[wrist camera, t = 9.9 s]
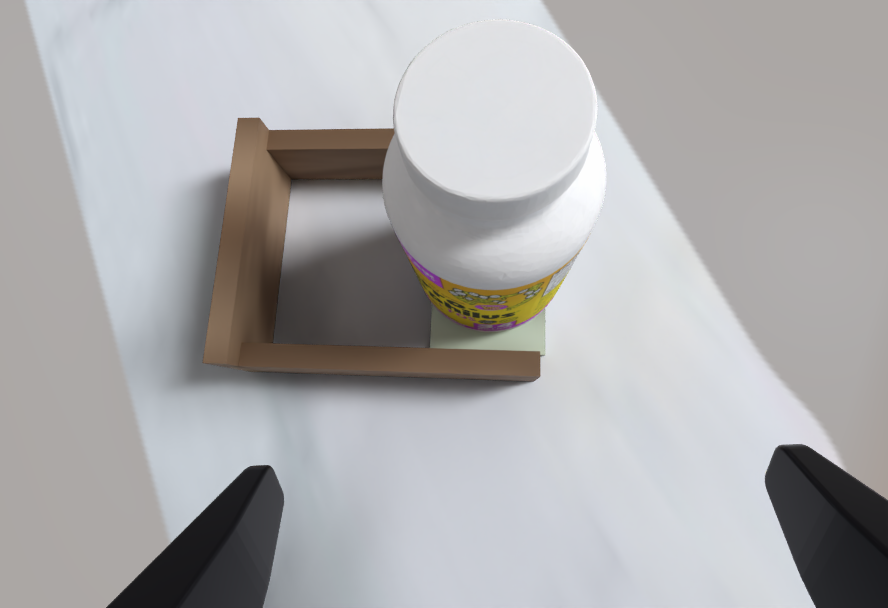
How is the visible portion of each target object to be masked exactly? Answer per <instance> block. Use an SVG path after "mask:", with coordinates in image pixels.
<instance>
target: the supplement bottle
mask: <svg viewBox="0 0 888 608" xmlns="http://www.w3.org/2000/svg"><path fill="white" fill-rule="evenodd" d="M596 120H597V96H596V91H595V87H594V84H593V81H592V78H591V75H590V73H589V71H588V69H587V68H586V66H585V64H584V62H583V60H582V59H581V58H580V57H579V55H578V54H577V53H576V52H575V51H574V50H573V49H572V48H571V47H570V46H569V45H568V44H567V43H566V42H565V41H563V40H562V39H560V38H559V37H557V36H556V35H554V34H553V33H551V32H549V31H547V30H545V29H543V28H540V27H538V26H535V25H532V24H528V23H525V22H520V21H513V20H503V19H495V20H484V21H477V22H473V23H469V24H466V25H463V26H460V27H457V28H454V29H451V30H449V31H447V32H446V33H444V34H442V35H441V36H439V37H437V38H436V39H434V40H433V41H432V42H431V43H429V44H428V45H427V46H425V47H424V48H423V49H422V50H421V51H420V53H419V54H418V55H417V56H416V57H415V58H414V59H413V60H412V62H411V63H410V64H409V66H408V68H407V69H406V71H405V73H404V74H403V77H402V79H401V81H400V83H399V86H398V89H397V92H396V96H395V101H394V109H393V124H394V132H395V133H394V136H393V138H392V140H391V142H390V145H389V148H388V150H387V153H386V157H385V162H384V167H383V180H382V188H383V199H384V204H385V208H386V212H387V215H388V218H389V220H390V222H391V225H392V227H393V229H394V231H395V234H396V236H397V237H398V239H399V241H400V243H401V245H402V247H403V249H404V251H405V253H406V255H407V257H408V259H409V261H410V263H411V265H412V267H413V269H414V271H415V273H416V275H417V277H418V279H419V282H420V283H421V285H422V287H423V289H424V291H425V293H426V295H427V297H428V298H429V300H430V301H431V303H432V304H433V305H434V307H435V308H436V309H437V310H438V311H439V312H440V313H441V314H442V315H443V316H444V317H446V318H447V319H448V320H450V321H452V322H453V323H455V324H457V325H459V326H461V327H464V328H466V329H470V330H473V331H479V332H502V331H506V330H511V329H514V328H516V327H519V326H521V325H524V324H525V323H527V322H529V321H530V320H532V319H533V318H535V317H536V316H537V315H538V314H539V313H541V312H542V311H543V310H544V309H545V307H546V306H547V305H548V304H549V303H550V301H551V300H552V299H553V297H554V295H555V294H556V292H557V291H558V289H559V287H560V286H561V284H562V282H563V281H564V279H565V277H566V275H567V274H568V272H569V270H570V269H571V267H572V265H573V263H574V261H575V259H576V258H577V256H578V254H579V252H580V251H581V249H582V248H583V246H584V244H585V243H586V241H587V239H588V237H589V235H590V234H591V232H592V230H593V228H594V226H595V224H596V222H597V219H598V217H599V215H600V212H601V209H602V206H603V202H604V197H605V192H606V164H605V159H604V155H603V150H602V147H601V144H600V142H599V139H598V136H597V134H596V132H595V127H596Z"/></svg>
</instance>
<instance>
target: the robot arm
mask: <svg viewBox="0 0 888 608" xmlns="http://www.w3.org/2000/svg"><path fill="white" fill-rule="evenodd" d="M765 485H766V489H767V492H768V495H769V497H770V500H771V502H772V505H773V507H774V510H775V513H776V515H777V518H778V520H779V523H780V525H781V528H782V531H783V533H784V536H785V538H786V541H787V544H788V546H789V549H790V551H791V554H792V556H793V559H794V562H795V564H796V566H797V569H798V571H799V574H800V576H801V578H802V580H803V582H804V584H805V587H806V589H807V591H808V593H809V595H810V597H811V599H812V601H813V603H814V605H815V607H816V608H888V500H887V499H885V498H884V497H882V496H881V495H879V494H878V493H876V492H875V491H874V490H872V489H871V488H869V487H868V486H866V485H865V484H863V483H862V482H860V481H859V480H857V479H856V478H854V477H853V476H851V475H850V474H848V473H847V472H845V471H844V470H843V469H841V468H840V467H838V466H837V465H835V464H834V463H832V462H831V461H829V460H828V459H826V458H825V457H823V456H822V455H820V454H819V453H817V452H816V451H814V450H813V449H811V448H810V447H808V446H806V445H802V444H790V445H779V446H778V447H777V448H776V449H775V451H774V453H773V456H772V458H771V461H770V464H769V466H768V469H767V472H766V475H765ZM283 506H284V494H283V491H282V488H281V486H280V484H279V481H278V479H277V477H276V474H275V472H274V470H273V468H272V467H271V466H269V465H259V466H250V467H248V468H246V469H245V470H244V471H243V472H242V473H241V474H240V475H239V476H238V477H237V478H236V479H235V480H234V481H233V482H232V483H231V484H230V485H229V486H228V487H227V488H226V489H225V490H224V491H223V492H222V493H221V494H220V495H219V496H218V497H217V498H216V499H215V500H214V501H213V502H212V503H211V504H210V505H209V506H208V507H207V508H206V509H205V510H204V511H203V512H202V513H201V514H200V515H199V516H198V517H197V518H196V519H195V520H194V521H193V522H192V523H191V524H190V525H189V526H188V527H187V528H186V529H185V530H184V531H183V532H182V533H181V534H180V535H179V536H178V537H177V538H176V539H175V540H174V541H173V542H172V543H171V544H170V545H169V546H168V547H167V548H166V549H165V550H164V551H163V552H162V553H161V554H160V555H159V556H158V557H157V558H155V560H154V561H152V563H151V564H149V565H148V566H147V567H146V568H145V569H144V571H142V572H141V574H139V575H138V576H137V577H136V578H135V579H134V581H132V583H130V584H129V585H128V586H127V588H125V589H124V590H123V591H122V592H121V593H120V594H119V595H118V596H117V597H116V598H115V599H114V600H113V601H112V602H111V603H110V604H109V605H108V606H107V607H106V608H263V604H264V601H265V597H266V593H267V589H268V585H269V580H270V576H271V571H272V565H273V560H274V554H275V549H276V544H277V538H278V533H279V528H280V522H281V517H282V512H283Z"/></svg>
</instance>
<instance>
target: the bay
mask: <svg viewBox="0 0 888 608" xmlns="http://www.w3.org/2000/svg"><path fill="white" fill-rule="evenodd" d="M394 133H395V132H394V129H322V130H268V128H267V127H266V126H265V124H264V123H263V122H262V121H261V119H260V118H238V122H237V129H236V136H235V143H234V149H233V156H232V163H231V170H230V177H229V184H228V191H227V198H226V205H225V212H224V218H223V225H222V232H221V239H220V246H219V253H218V260H217V267H216V274H215V281H214V287H213V294H212V301H211V308H210V315H209V322H208V329H207V336H206V343H205V349H204V356H203V363H205V364H211V365H216V366H222V367H227V368H233V369H238V370H244V371H250V372H279V373H307V374H336V375H364V376H392V377H421V378H449V379H478V380H506V381H535V380H536V379H538V378H539V377H540V355H545V309H544V310H543V311H542V312H541V313H539V314H538V315H537V316H536V317H535V318H533V319H532V320H530V321H529V322H527V323H525V324H524V325H521V326H519V327H516V328H514V329H511V330H506V331H502V332H479V331H473V330H470V329H466V328H464V327H461V326H459V325H457V324H455V323H453V322H452V321H450V320H448V319H447V318H446V317H444V316H443V315H442V314H441V313H440V312H439V311H438V310H437V309H436V308H435V307H434V305H433V304H432V312H431V333H430V348H410V347H376V346H342V345H308V344H275V343H273V336H274V327H275V319H276V310H277V301H278V293H279V284H280V275H281V267H282V258H283V249H284V241H285V232H286V223H287V215H288V206H289V198H290V189H291V180H296V179H383V167H384V162H385V157H386V153H387V150H388V148H389V145H390V142H391V140H392V138H393V136H394Z"/></svg>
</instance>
